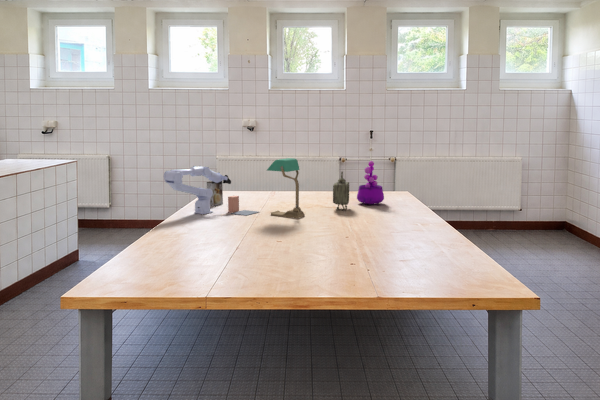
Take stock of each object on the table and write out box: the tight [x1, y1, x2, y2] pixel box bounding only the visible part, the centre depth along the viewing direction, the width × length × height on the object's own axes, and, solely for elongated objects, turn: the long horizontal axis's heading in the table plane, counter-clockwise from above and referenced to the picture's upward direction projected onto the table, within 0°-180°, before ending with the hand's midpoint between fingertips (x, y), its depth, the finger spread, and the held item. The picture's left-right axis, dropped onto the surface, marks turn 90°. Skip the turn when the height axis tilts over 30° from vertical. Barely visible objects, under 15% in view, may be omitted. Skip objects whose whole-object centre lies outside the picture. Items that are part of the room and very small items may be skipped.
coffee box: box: [206, 180, 224, 207], centre depth 389 cm, size 9×6×16 cm
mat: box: [230, 209, 260, 217], centre depth 358 cm, size 14×12×1 cm
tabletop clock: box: [332, 170, 350, 211], centre depth 372 cm, size 14×9×25 cm, turn 168°
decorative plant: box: [356, 160, 385, 205], centre depth 393 cm, size 19×18×30 cm
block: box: [227, 195, 240, 214], centre depth 362 cm, size 6×4×10 cm, turn 150°
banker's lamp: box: [266, 157, 306, 219], centre depth 347 cm, size 16×21×35 cm
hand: (226, 182), depth 373 cm, fingers open, 7 cm apart
